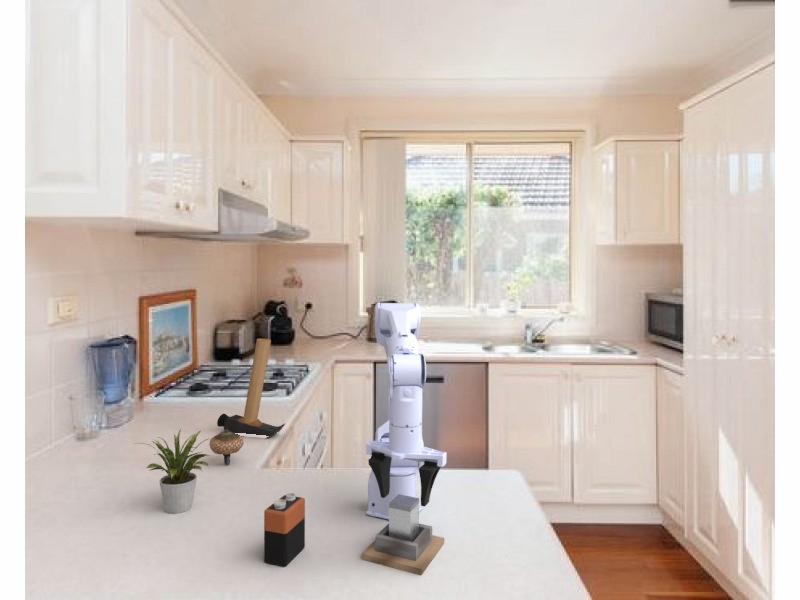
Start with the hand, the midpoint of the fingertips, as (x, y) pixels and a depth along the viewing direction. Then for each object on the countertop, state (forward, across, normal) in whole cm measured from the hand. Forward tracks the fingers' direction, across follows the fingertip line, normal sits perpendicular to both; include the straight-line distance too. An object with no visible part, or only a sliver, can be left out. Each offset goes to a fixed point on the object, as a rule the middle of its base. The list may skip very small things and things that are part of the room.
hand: (404, 499), depth 89 cm
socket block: (+9, 0, 0) cm, 9 cm away
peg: (+8, 0, 0) cm, 8 cm away
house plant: (+9, -49, -6) cm, 50 cm away
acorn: (+10, -57, +18) cm, 61 cm away
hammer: (+10, -69, +41) cm, 81 cm away
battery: (+9, -18, -10) cm, 23 cm away
